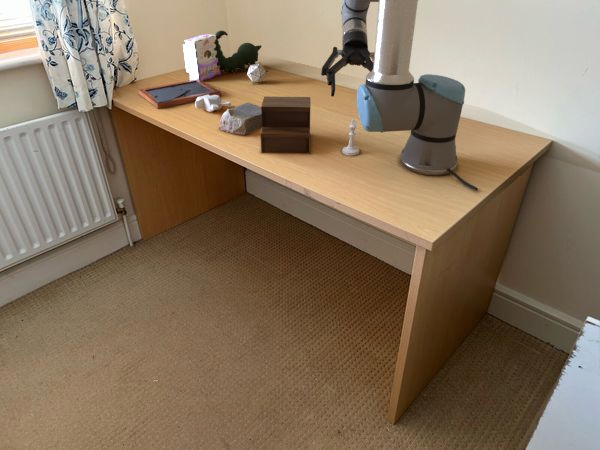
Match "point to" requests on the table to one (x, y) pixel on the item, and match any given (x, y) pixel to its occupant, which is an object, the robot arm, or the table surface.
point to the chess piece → (351, 141)
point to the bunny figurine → (210, 103)
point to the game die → (256, 73)
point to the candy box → (202, 57)
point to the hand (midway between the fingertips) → (357, 95)
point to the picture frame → (177, 93)
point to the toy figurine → (236, 55)
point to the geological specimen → (242, 119)
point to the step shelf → (285, 125)
